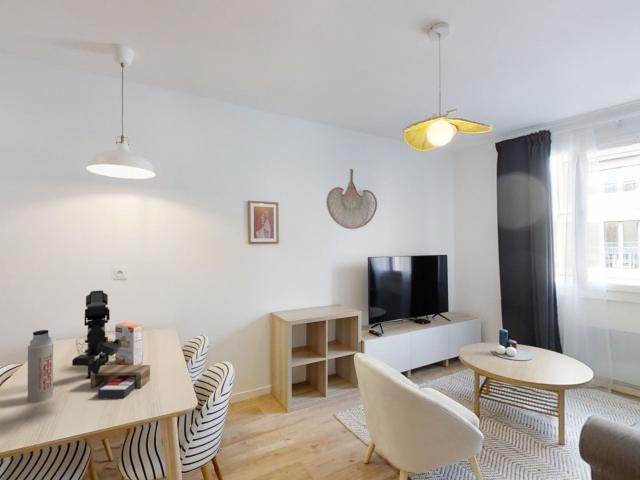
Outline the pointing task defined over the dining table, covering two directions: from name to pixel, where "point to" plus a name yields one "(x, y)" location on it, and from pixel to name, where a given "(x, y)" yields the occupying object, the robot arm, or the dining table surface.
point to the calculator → (118, 388)
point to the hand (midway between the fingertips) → (96, 374)
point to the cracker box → (129, 344)
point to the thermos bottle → (40, 367)
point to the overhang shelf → (121, 374)
